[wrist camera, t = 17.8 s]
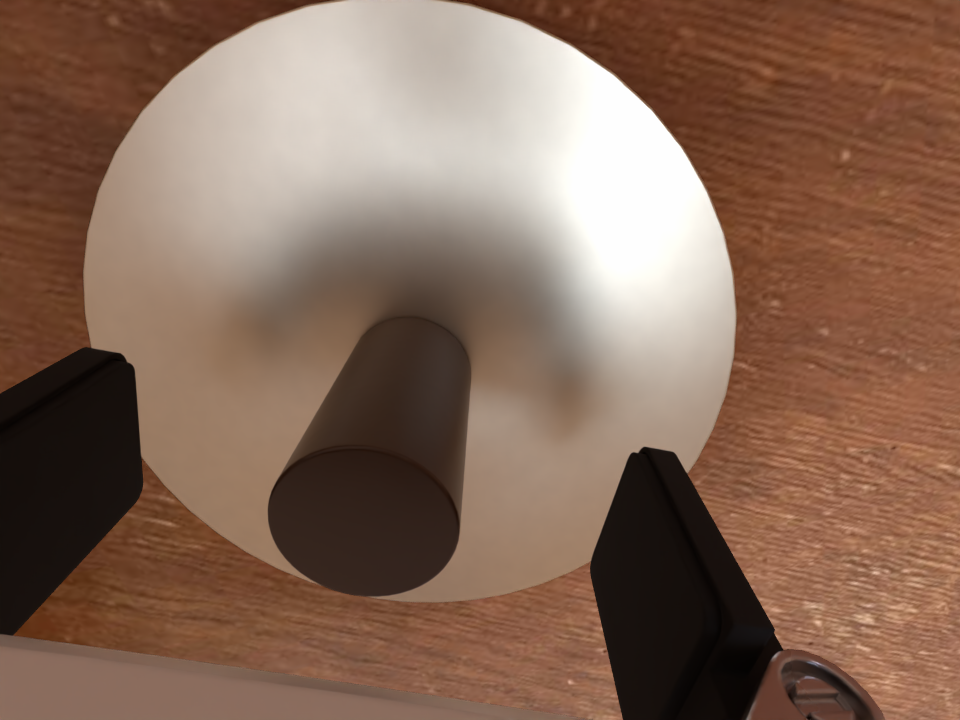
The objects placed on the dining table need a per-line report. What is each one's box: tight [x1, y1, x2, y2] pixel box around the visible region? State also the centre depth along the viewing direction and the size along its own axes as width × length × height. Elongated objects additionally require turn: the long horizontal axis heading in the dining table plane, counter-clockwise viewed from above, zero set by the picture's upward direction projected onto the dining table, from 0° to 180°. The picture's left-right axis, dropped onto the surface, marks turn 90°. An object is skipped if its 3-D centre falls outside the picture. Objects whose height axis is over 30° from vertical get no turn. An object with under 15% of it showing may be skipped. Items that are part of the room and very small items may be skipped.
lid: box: [83, 0, 737, 603], centre depth 11 cm, size 16×16×7 cm
